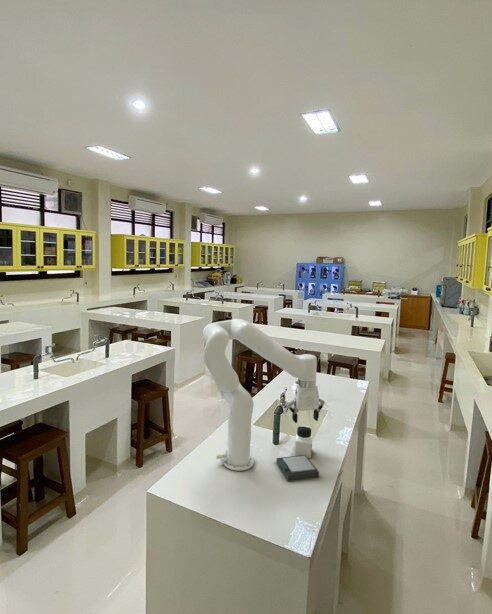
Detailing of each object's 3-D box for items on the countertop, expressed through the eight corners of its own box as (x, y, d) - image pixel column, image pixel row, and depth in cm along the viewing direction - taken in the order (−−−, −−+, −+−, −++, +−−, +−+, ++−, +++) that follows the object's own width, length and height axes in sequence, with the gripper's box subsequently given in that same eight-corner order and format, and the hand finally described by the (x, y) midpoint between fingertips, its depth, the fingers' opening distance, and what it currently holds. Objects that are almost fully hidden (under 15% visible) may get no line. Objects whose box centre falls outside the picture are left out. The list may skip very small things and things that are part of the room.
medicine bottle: (311, 458, 162) (312, 432, 161) (294, 456, 164) (295, 430, 162) (311, 450, 169) (312, 425, 168) (295, 448, 171) (296, 423, 169)
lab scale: (287, 481, 145) (288, 474, 145) (276, 463, 158) (276, 456, 157) (318, 477, 148) (319, 470, 148) (305, 460, 161) (305, 453, 160)
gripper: (291, 387, 157) (290, 426, 159) (329, 384, 161) (327, 422, 163) (284, 381, 164) (283, 418, 166) (321, 379, 168) (319, 415, 170)
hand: (305, 420), depth 165 cm, fingers open, 9 cm apart
